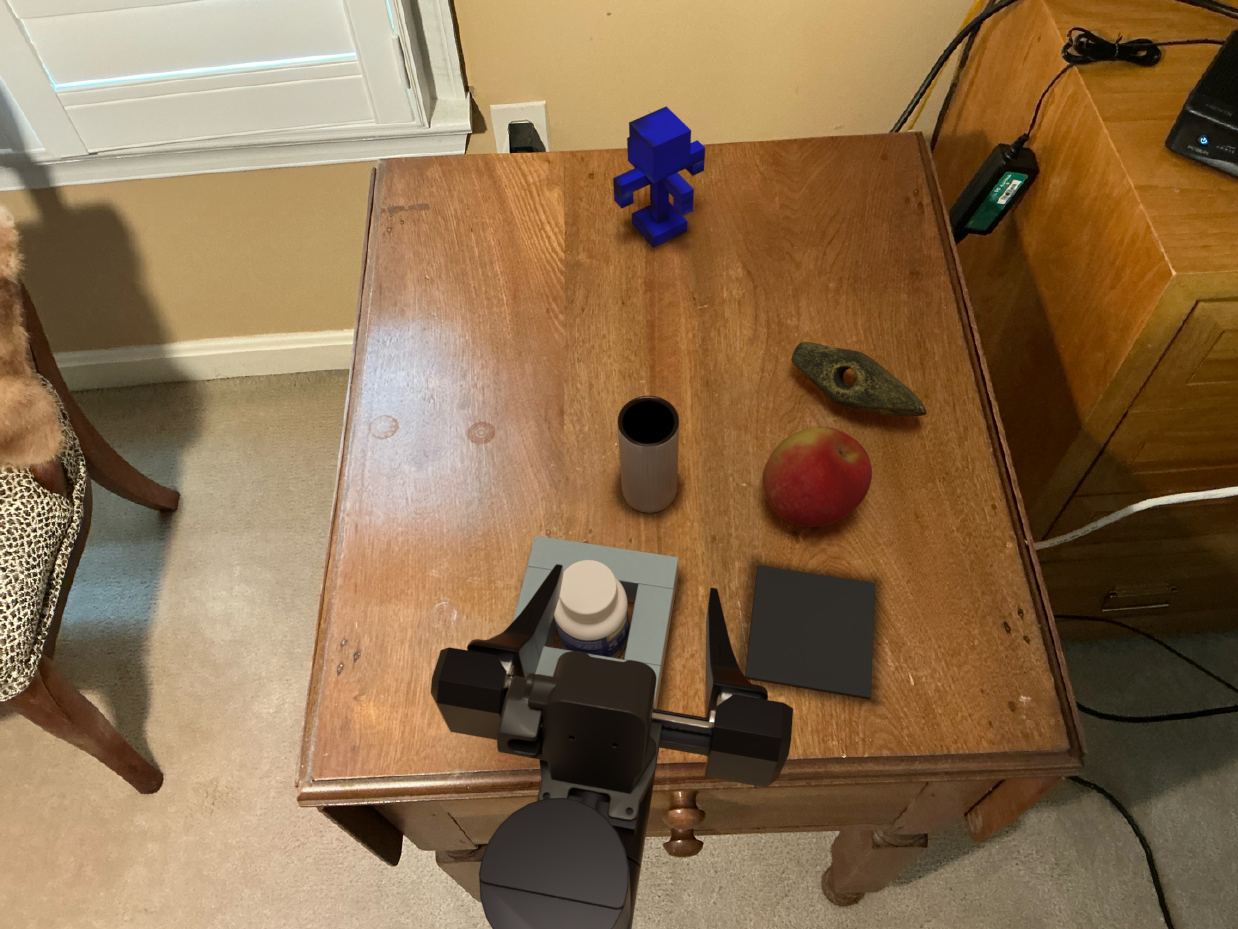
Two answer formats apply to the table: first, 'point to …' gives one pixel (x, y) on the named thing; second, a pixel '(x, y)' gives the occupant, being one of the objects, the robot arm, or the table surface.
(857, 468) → the apple
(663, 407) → the grey cylindrical tube
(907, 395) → the decorative stone
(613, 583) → the pill bottle
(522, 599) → the stand
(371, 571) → the table surface
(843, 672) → the mat
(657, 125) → the figurine
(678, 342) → the table surface
